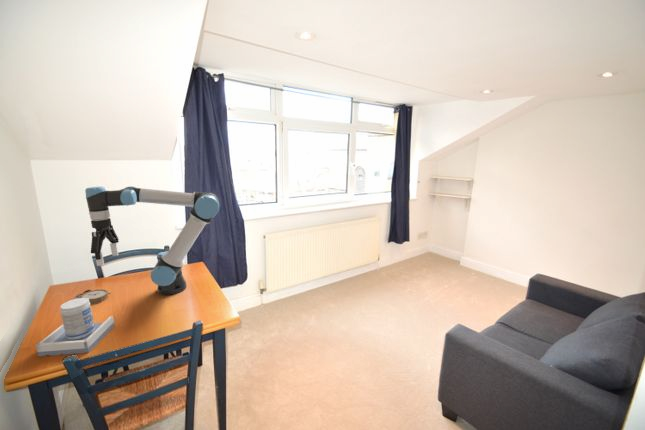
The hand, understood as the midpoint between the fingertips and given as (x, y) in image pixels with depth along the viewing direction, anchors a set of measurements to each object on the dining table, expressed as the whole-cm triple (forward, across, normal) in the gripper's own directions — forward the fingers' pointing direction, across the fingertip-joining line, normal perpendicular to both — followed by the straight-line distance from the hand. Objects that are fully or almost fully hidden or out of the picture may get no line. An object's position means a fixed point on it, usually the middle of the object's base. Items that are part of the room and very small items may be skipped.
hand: (108, 260), depth 140 cm
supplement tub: (+24, +25, -2) cm, 35 cm away
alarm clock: (+26, -11, -17) cm, 33 cm away
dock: (+26, +26, -3) cm, 37 cm away
